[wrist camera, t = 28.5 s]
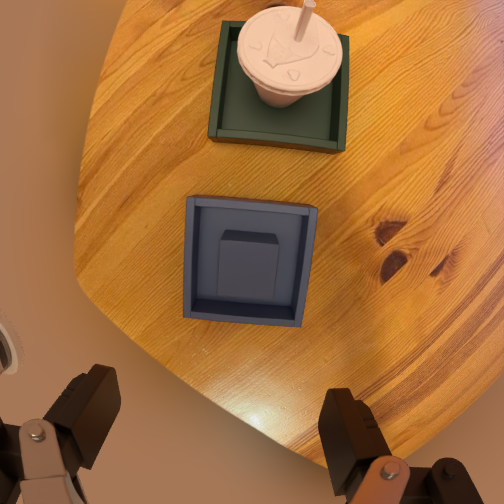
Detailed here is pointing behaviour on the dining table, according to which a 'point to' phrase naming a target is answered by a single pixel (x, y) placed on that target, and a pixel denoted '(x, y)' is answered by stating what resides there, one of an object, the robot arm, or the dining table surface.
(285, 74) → the smoothie
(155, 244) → the dining table surface
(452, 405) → the dining table surface
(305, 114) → the green bin
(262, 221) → the blue bin
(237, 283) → the blue block
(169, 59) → the dining table surface
